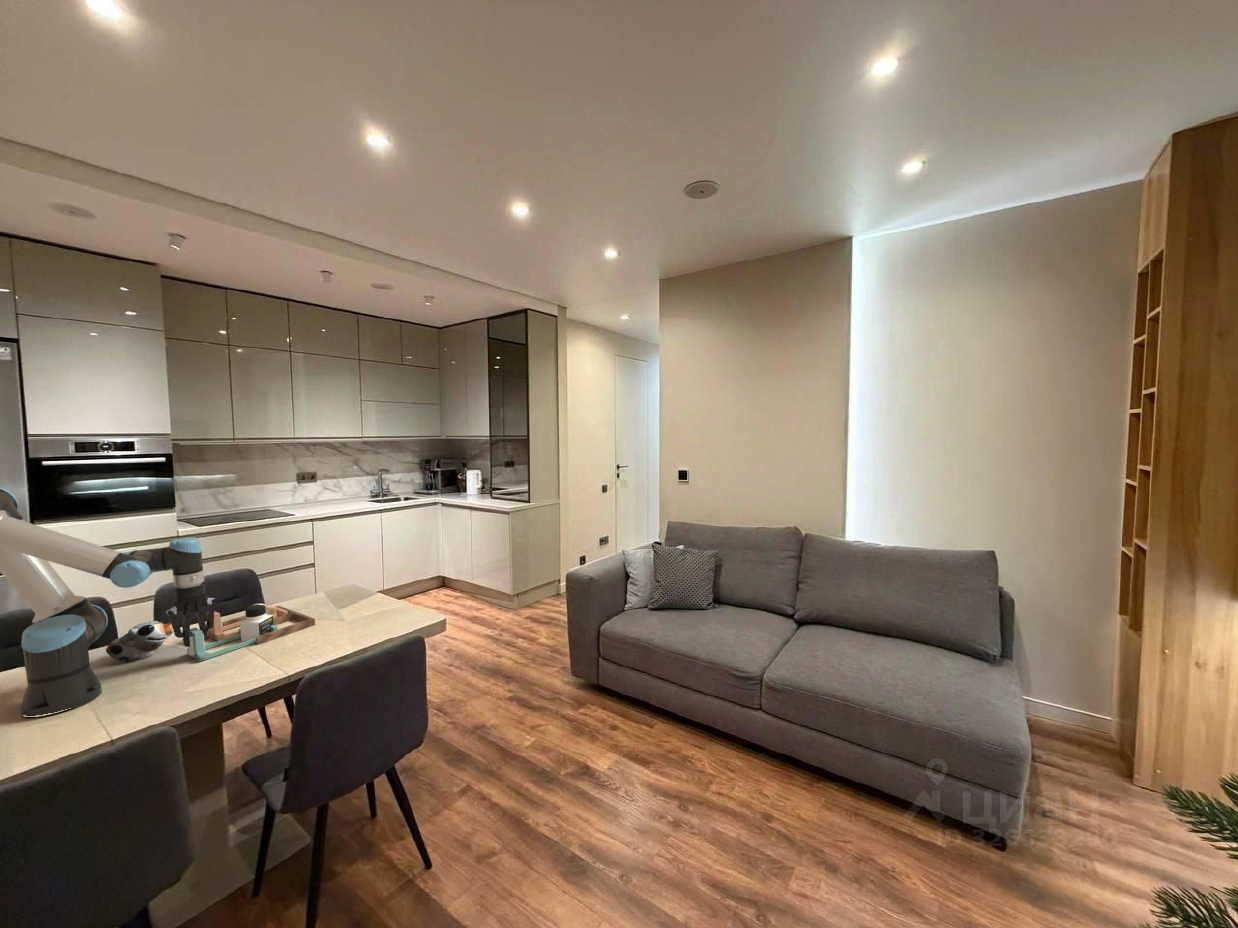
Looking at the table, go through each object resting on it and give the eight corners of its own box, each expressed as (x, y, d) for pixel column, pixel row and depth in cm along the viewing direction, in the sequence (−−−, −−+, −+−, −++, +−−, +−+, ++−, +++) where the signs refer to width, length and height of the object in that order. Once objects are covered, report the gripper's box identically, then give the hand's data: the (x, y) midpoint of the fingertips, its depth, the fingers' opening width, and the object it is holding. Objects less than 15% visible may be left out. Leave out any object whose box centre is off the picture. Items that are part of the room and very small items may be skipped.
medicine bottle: (260, 641, 175) (257, 609, 174) (240, 641, 176) (238, 609, 174) (274, 632, 182) (272, 601, 181) (255, 633, 183) (253, 601, 182)
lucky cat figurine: (151, 642, 175) (171, 608, 176) (168, 661, 171) (187, 626, 171) (97, 649, 162) (118, 611, 162) (113, 669, 157) (134, 630, 158)
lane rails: (258, 644, 173) (257, 637, 172) (222, 628, 187) (222, 622, 187) (315, 624, 189) (314, 618, 189) (278, 611, 204) (278, 605, 203)
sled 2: (200, 661, 160) (197, 634, 160) (187, 654, 166) (185, 628, 165) (277, 634, 180) (275, 610, 179) (264, 628, 185) (262, 605, 184)
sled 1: (218, 640, 176) (215, 616, 175) (206, 634, 181) (203, 611, 180) (288, 618, 195) (286, 596, 194) (275, 613, 200) (273, 592, 200)
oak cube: (264, 625, 190) (263, 612, 190) (255, 623, 192) (254, 610, 191) (277, 620, 195) (276, 607, 194) (268, 618, 196) (267, 606, 196)
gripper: (163, 593, 153) (171, 665, 155) (222, 579, 166) (229, 646, 168) (155, 590, 157) (163, 660, 159) (212, 576, 170) (219, 641, 172)
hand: (197, 652), depth 164 cm, fingers open, 2 cm apart
